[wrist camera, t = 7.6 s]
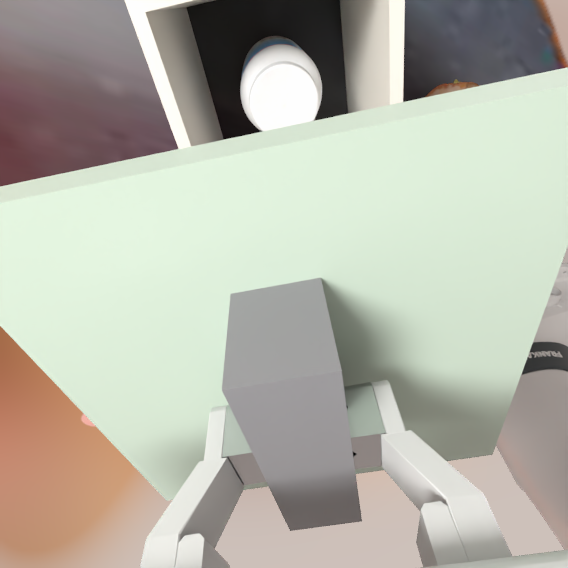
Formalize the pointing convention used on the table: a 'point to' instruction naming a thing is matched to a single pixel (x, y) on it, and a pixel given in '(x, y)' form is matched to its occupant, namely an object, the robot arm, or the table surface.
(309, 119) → the pill bottle
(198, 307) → the lid
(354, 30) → the box
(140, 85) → the table surface
